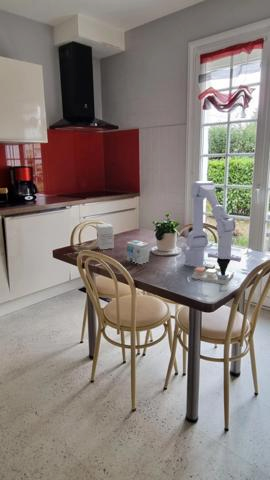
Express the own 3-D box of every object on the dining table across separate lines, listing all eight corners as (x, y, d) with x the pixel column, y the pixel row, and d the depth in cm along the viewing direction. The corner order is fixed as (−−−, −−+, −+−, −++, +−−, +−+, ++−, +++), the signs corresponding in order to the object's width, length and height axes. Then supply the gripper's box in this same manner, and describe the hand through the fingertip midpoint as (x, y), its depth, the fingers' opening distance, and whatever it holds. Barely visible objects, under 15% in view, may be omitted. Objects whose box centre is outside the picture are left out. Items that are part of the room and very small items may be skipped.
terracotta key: (194, 272, 155) (194, 269, 154) (197, 269, 158) (197, 266, 157) (202, 273, 153) (202, 270, 152) (205, 270, 156) (205, 267, 156)
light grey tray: (192, 278, 154) (192, 275, 154) (201, 269, 165) (201, 267, 165) (226, 284, 146) (226, 281, 146) (233, 275, 157) (233, 272, 157)
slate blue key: (217, 277, 149) (217, 274, 149) (219, 275, 153) (220, 271, 152) (226, 279, 147) (226, 276, 147) (228, 276, 151) (228, 273, 150)
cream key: (205, 274, 152) (205, 271, 151) (208, 271, 155) (208, 268, 155) (214, 275, 150) (214, 272, 149) (216, 272, 153) (216, 269, 153)
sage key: (215, 271, 155) (215, 268, 155) (217, 268, 159) (218, 265, 158) (223, 272, 153) (223, 269, 153) (226, 269, 157) (226, 266, 156)
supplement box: (97, 247, 208) (96, 224, 205) (110, 245, 211) (110, 223, 207) (99, 251, 200) (98, 227, 196) (114, 249, 203) (113, 225, 199)
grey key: (204, 269, 158) (204, 266, 158) (206, 266, 161) (207, 263, 161) (212, 270, 156) (212, 267, 156) (214, 268, 160) (215, 265, 159)
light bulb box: (126, 261, 181) (126, 242, 178) (135, 258, 185) (135, 239, 183) (140, 265, 173) (140, 245, 171) (149, 262, 178) (149, 243, 175)
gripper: (206, 245, 146) (204, 274, 150) (239, 249, 139) (237, 279, 143) (210, 242, 152) (209, 269, 156) (242, 245, 145) (240, 274, 149)
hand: (223, 274), depth 150 cm, fingers closed, pressing on slate blue key
